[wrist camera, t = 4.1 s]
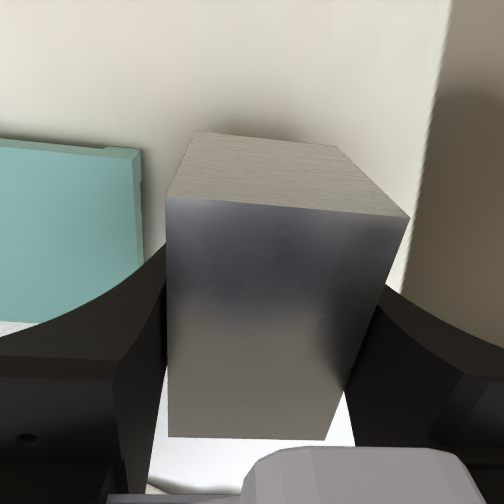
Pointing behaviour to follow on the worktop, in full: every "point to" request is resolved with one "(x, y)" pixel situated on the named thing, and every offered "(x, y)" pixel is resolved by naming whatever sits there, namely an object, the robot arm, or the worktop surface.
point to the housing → (269, 284)
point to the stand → (65, 226)
